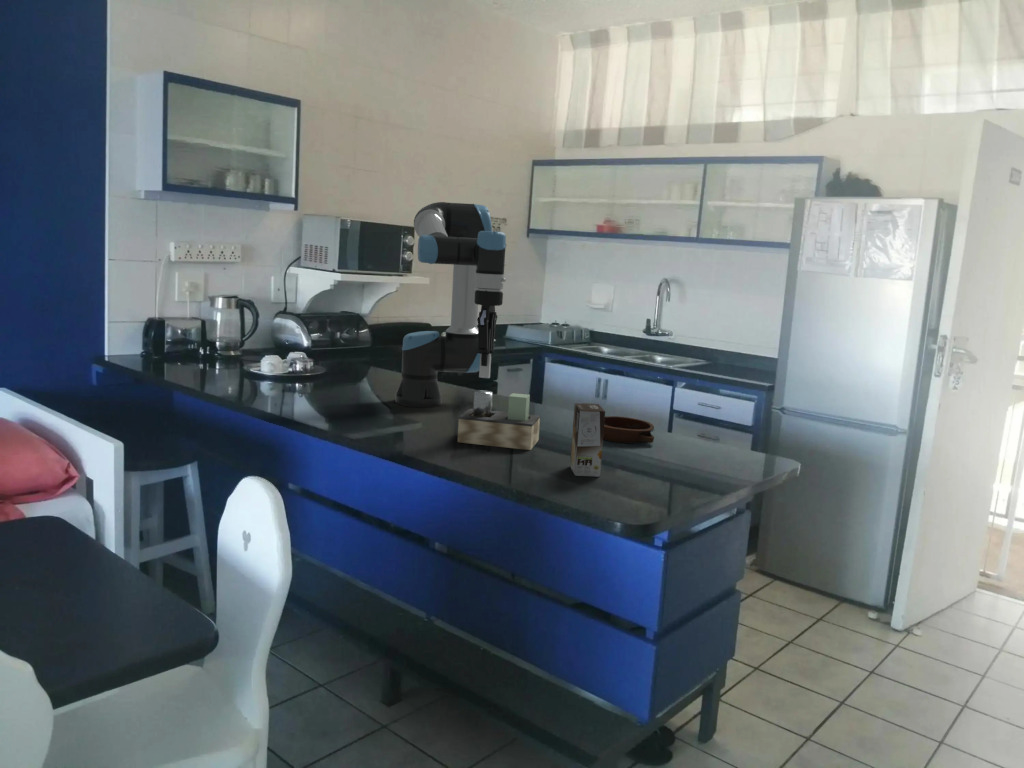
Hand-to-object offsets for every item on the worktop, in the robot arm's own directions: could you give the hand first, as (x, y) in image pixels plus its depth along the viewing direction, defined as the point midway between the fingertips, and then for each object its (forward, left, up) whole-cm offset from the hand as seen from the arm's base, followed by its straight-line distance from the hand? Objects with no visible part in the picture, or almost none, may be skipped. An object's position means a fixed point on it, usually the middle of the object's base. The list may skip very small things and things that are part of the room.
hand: (484, 377), depth 224 cm
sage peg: (+10, 0, -11) cm, 15 cm away
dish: (+37, +19, -18) cm, 45 cm away
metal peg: (0, 0, -11) cm, 11 cm away
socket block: (+5, 0, -17) cm, 18 cm away
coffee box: (+31, -20, -18) cm, 41 cm away
